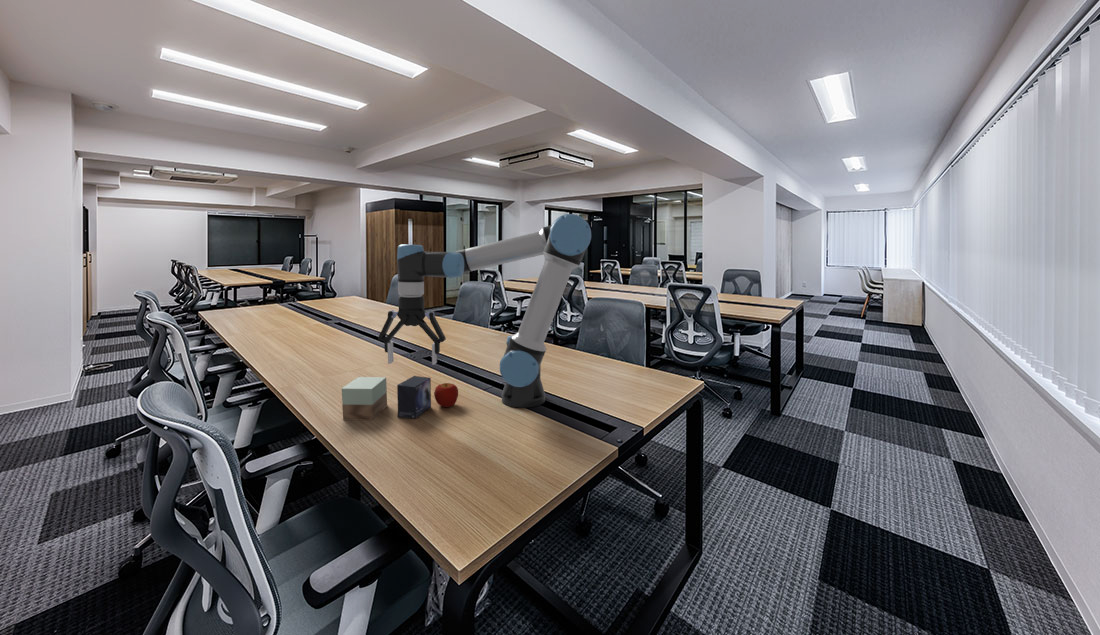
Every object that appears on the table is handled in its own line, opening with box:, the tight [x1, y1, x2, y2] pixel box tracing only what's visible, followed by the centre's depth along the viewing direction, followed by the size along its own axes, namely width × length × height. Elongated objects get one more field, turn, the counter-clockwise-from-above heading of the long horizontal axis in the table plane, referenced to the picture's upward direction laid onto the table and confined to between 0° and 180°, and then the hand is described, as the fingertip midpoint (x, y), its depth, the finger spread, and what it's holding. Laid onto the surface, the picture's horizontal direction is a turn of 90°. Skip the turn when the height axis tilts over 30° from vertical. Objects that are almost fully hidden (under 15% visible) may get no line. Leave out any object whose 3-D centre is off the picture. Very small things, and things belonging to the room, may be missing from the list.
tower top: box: [341, 376, 388, 405], centre depth 134 cm, size 9×12×5 cm
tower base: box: [341, 391, 388, 421], centre depth 135 cm, size 9×12×5 cm
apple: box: [433, 382, 459, 408], centre depth 141 cm, size 8×8×8 cm
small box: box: [396, 375, 432, 420], centre depth 135 cm, size 11×6×10 cm, turn 168°
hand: (412, 363), depth 133 cm, fingers open, 13 cm apart
